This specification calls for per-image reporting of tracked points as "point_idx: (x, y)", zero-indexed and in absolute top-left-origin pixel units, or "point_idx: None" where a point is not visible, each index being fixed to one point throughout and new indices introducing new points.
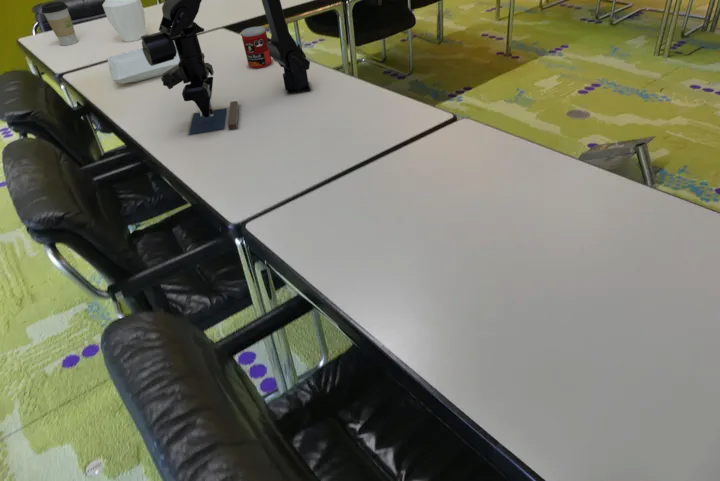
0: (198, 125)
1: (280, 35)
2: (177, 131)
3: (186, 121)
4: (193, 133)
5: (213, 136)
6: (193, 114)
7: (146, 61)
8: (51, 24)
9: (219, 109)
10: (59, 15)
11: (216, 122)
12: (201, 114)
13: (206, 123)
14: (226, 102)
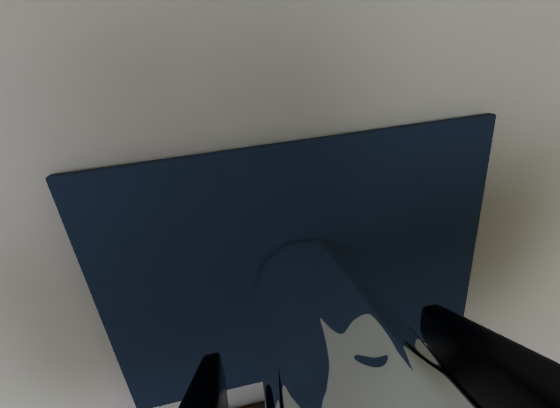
0: (224, 222)
1: None
2: (150, 11)
3: (370, 68)
4: (62, 215)
5: (19, 374)
6: (472, 118)
7: None
8: None
9: (461, 301)
10: None
11: (249, 341)
12: (272, 311)
13: (249, 277)
14: (555, 302)
